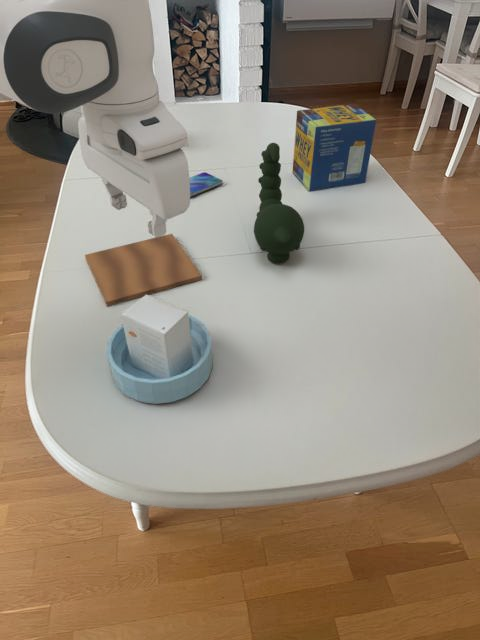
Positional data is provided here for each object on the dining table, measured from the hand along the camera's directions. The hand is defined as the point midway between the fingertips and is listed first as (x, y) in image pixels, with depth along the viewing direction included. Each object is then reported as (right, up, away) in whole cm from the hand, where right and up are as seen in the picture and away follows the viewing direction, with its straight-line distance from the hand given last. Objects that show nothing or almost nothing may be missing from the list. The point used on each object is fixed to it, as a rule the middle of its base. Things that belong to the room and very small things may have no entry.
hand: (137, 220), depth 70 cm
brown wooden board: (-5, -4, +29) cm, 29 cm away
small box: (+2, -21, +9) cm, 23 cm away
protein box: (+36, +21, +58) cm, 71 cm away
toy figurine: (+21, +2, +36) cm, 41 cm away
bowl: (+2, -21, +9) cm, 23 cm away
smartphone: (+2, +17, +53) cm, 56 cm away
